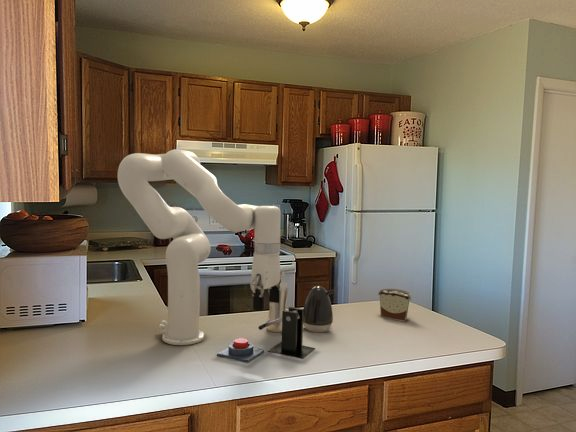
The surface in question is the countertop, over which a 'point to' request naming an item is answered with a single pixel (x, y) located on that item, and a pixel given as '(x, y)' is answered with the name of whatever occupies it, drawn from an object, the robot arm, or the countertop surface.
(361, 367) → the countertop surface
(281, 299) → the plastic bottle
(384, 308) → the food container
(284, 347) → the bracket
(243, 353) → the button box
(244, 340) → the button
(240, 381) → the countertop surface
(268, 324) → the lever
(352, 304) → the countertop surface
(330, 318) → the dark grey tapered dome
